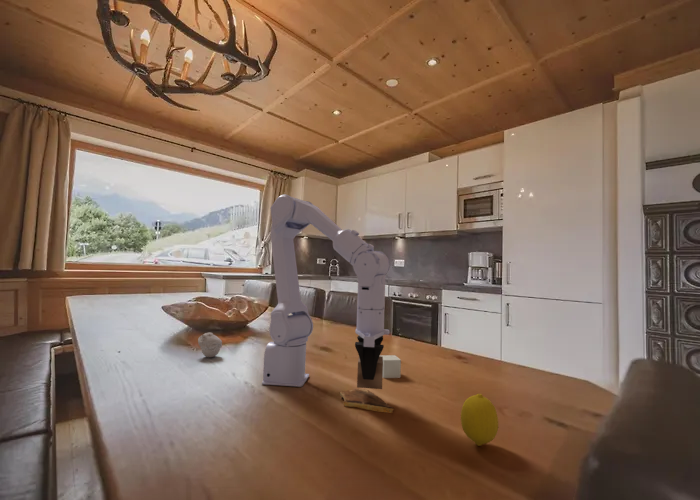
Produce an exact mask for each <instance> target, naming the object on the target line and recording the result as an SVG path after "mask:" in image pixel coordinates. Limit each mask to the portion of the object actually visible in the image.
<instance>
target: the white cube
mask: <svg viewBox="0 0 700 500" xmlns="http://www.w3.org/2000/svg"><path fill="white" fill-rule="evenodd" d="M380 356H381V357H383V379H398V378H399V379H400V378H401V370H402V369H401V368H402V360H401V358H399V357H398V356H397V355H396V354H395V355H394V354H391V355H390V354H389V355H387V354H385V355H383V354H382V355H381V354H380Z"/></svg>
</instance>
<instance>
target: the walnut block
mask: <svg viewBox="0 0 700 500" xmlns="http://www.w3.org/2000/svg"><path fill="white" fill-rule="evenodd" d="M356 375H357V376H356V379H357V381H356V388H357V389H373V390H374V389H375V390H383V379H384V378H383V357H381V356H379V359H378V362H377V367H376V373H375V377H374V380H367V379H363V376H362V370H361V362H360V358H359V357H358V359H357V374H356Z"/></svg>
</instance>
